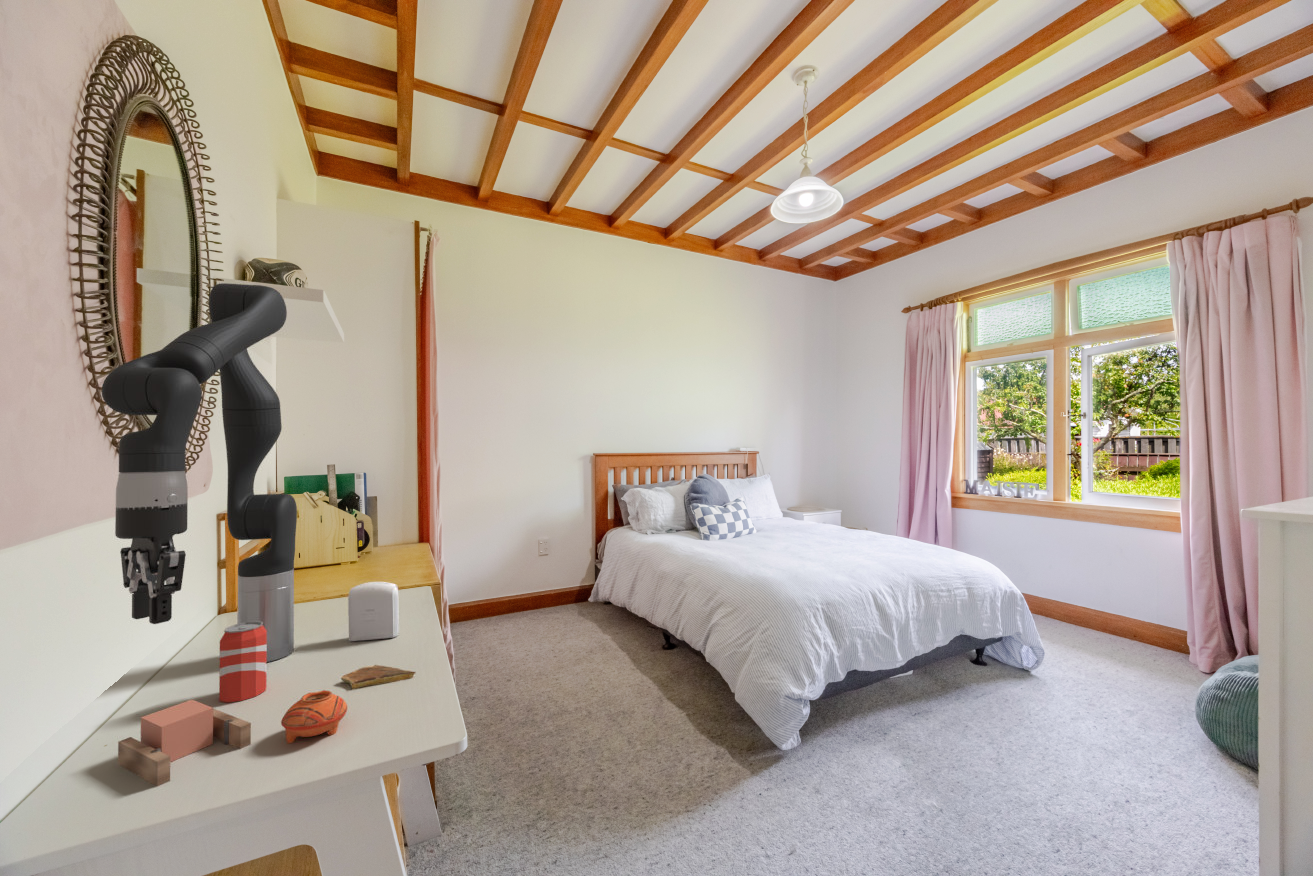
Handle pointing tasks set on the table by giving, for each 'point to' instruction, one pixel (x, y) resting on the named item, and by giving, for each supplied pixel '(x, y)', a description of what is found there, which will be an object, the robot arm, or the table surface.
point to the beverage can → (243, 662)
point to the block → (179, 729)
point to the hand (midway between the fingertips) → (151, 619)
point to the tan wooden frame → (157, 764)
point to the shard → (375, 676)
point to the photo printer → (373, 611)
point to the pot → (314, 715)
